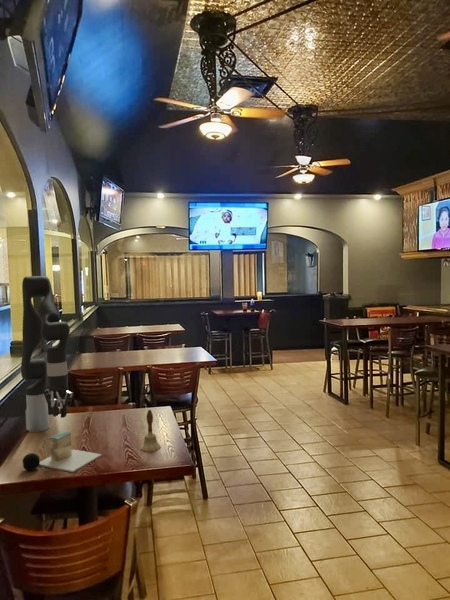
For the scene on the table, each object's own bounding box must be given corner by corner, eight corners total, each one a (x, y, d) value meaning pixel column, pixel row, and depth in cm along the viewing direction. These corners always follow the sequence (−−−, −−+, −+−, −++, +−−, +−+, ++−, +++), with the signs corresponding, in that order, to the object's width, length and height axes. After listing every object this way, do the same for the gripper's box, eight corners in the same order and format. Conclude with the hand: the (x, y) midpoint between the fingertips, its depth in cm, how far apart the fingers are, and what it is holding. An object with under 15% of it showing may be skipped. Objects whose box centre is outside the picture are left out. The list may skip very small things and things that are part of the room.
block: (51, 460, 179) (49, 437, 179) (64, 453, 186) (63, 431, 185) (59, 461, 178) (57, 438, 177) (71, 454, 184) (70, 432, 183)
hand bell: (164, 445, 193) (162, 407, 192) (154, 452, 186) (153, 414, 184) (146, 443, 196) (145, 406, 195) (136, 450, 188) (135, 412, 187)
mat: (36, 465, 176) (36, 463, 176) (66, 449, 191) (66, 448, 191) (73, 472, 169) (73, 470, 169) (101, 455, 184) (101, 454, 184)
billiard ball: (21, 468, 174) (20, 453, 173) (38, 464, 177) (37, 449, 176) (24, 474, 168) (23, 458, 168) (41, 470, 172) (40, 454, 171)
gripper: (36, 374, 179) (38, 417, 180) (64, 376, 173) (66, 421, 174) (50, 369, 186) (53, 411, 187) (78, 372, 180) (80, 415, 181)
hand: (59, 416), depth 180 cm, fingers open, 3 cm apart
